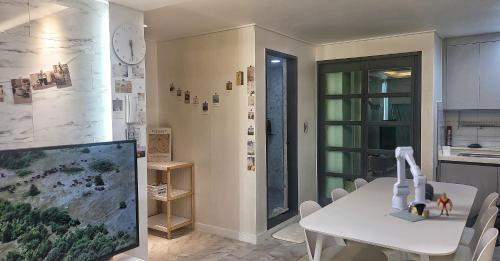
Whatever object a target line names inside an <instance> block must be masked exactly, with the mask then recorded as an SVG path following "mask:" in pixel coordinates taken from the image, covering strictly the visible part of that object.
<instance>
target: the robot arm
mask: <svg viewBox="0 0 500 261" xmlns="http://www.w3.org/2000/svg"><path fill="white" fill-rule="evenodd" d="M394 154H395V158H396V164H397V165H396V166H397V173H396V174H397V181H396V182H395V183H394V184H393V188H392V191H393V196H392V198H391V199H392V200H391V202H392V205H391V208H393V209H398V210H400V211H405V210H408V196H409V195H410V193H411V189H410V185H409V183H407V182H406V181H407V180H406V161H407V163H408V165H409V166H410V169H409V170H410V172H411V175H412V177H413V182H412V183H413V185H414V200H412V201H409V205H412V206H415V207H416V209H417V212H418V215H420V216H422V214H423V211H424V210H425V209H426V207H427V205H426V204H431V200H425V184H427V183H428V178H427V176H426V175H425V174H424V173H423V172H422V170H421V168H420V166H419V165H417V163H416V161H415V158H414V149H413V146H397V147H396V148H395V153H394Z"/></svg>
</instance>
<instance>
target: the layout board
mask: <svg viewBox="0 0 500 261" xmlns="http://www.w3.org/2000/svg"><path fill="white" fill-rule="evenodd" d="M388 215H389V216H393V217H396V218H399V219H401V220H404V221H408V222H411V223H414V222H415V223H416V222H418V221H423V220H428V219H429V220H430V219H433V218H438V217H441V215H442V214H441V215H440V214H437V213H434V212H431V211H429V217H426V216H423V215H422V216H420V215H418V214H416V213H410V212H408V209H405V210H400V211H396V212H391V213H390V212H389V213H388Z"/></svg>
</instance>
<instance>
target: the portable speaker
mask: <svg viewBox="0 0 500 261" xmlns="http://www.w3.org/2000/svg"><path fill="white" fill-rule="evenodd" d="M434 192H435V190H434V187H433V185H432V184H431V183H428V182H427V184H425V200H430V201H431V200H432V199H433V198H434V194H435V193H434Z"/></svg>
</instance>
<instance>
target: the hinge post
mask: <svg viewBox="0 0 500 261" xmlns="http://www.w3.org/2000/svg"><path fill="white" fill-rule="evenodd" d="M412 206H413V205H410V204H407V207H408V209H407V210H408V212H410V213H412Z"/></svg>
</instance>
